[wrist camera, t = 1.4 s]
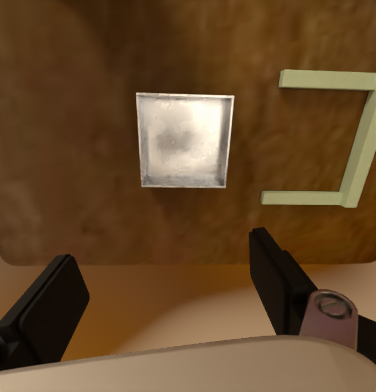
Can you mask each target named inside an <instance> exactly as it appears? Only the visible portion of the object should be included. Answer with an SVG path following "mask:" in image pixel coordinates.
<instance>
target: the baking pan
mask: <svg viewBox="0 0 376 392" xmlns="http://www.w3.org/2000/svg"><path fill="white" fill-rule="evenodd" d="M136 102H137V120H138V137H139V155H140V173H141V187H175V188H226V179H227V169H228V158H229V147H230V137H231V126H232V115H233V105H234V96H228V95H197V94H166V93H136Z"/></svg>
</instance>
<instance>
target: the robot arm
mask: <svg viewBox="0 0 376 392" xmlns="http://www.w3.org/2000/svg"><path fill="white" fill-rule="evenodd" d="M249 248H250V274H251V278H252V281H253V283H254V285H255V288H256V290H257V292H258V294H259V296H260V299H261V301H262V303H263V305H264V307H265V310H266V312H267V315H268V317H269V319H270V321H271V324H272V326H273V328H274V330H275V333H276V335H275V336H260V337H250V338H241V339H232V340H223V341H216V342H207V343H199V344H192V345H183V346H175V347H168V348H160V349H153V350H145V351H137V352H130V353H122V354H115V355H107V356H100V357H92V358H85V359H78V360H71V361H63V362H60V360H61V358H62V356H63V354H64V352H65V350H66V348H67V346H68V344H69V342H70V340H71V338H72V335H73V333H74V331H75V329H76V327H77V325H78V323H79V321H80V319H81V317H82V315H83V312H84V311H85V309H86V306H87V304H88V302H89V298H90V297H89V292H88V290H87V288H86V285H85V282H84V280H83V277H82V275H81V272H80V270H79V268H78V265H77V263H76V260H75V258H74V257H73V256H71V255H70V254H66V255H58V256H56V257H55V258H54V259H53V260H52V262H51V263H50V264H49V265H48V266H47V267H46V269H45V270H44V271H43V272H42V273H41V274H40V275H39V277H38V278H37V279H36V280H35V281H34V282H33V284H32V285H31V286H30V287H29V288H28V289H27V291H26V292H25V293H24V294H23V295H22V296H21V298H20V299H19V300H18V301H17V302H16V303H15V304H14V305H13V307H12V308H11V309H10V310H9V311H8V312H7V314H6V315H5V316H4V317H3V318H2V319H1V320H0V392H376V322H375V321H372V320H370V319H368V318H365V317H363V316H361V315H358V311H357V308H356V307H355V305H354V304H353V302H352V301H350V300H349V299H348V298H347V297H345V296H344V295H342V294H340V293H338V292H335V291H332V290H327V289H320V290H318V288H317V287H316V286H315V285H314V284H313V282H312V281H311V280H310V278H309V277H308V276H307V275H306V273H305V272H304V271H303V270H302V268H301V267H300V266H299V265H298V263H297V262H296V261H295V260H294V258H293V257H292V256H291V255H290V253H289V252H288V251H286V250H283V251H282V250H281V249H280V247H279V246H278V245H277V243H276V242H275V241H274V239H273V238H272V237H271V235H270V234H269V233H268V232H267V230H266V229H265V228H264V227H262V228H254V229H253V230H252V232H249Z"/></svg>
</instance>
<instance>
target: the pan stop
mask: <svg viewBox="0 0 376 392" xmlns="http://www.w3.org/2000/svg"><path fill="white" fill-rule="evenodd" d="M279 88H304V89H333V90H362V91H369V93H368V96H367V100H366V103H365V106H364V110H363V113H362V117H361V120H360V123H359V127H358V130H357V133H356V137H355V140H354V143H353V147H352V150H351V154H350V157H349V160H348V164H347V167H346V170H345V174H344V177H343V180H342V184H341V187H340V190H339V192H321V191H262V194H261V200H260V202H261V203H262V204H296V205H341V206H343V207H357V204H358V201H359V198H360V195H361V192H362V189H363V186H364V183H365V180H366V177H367V174H368V171H369V168H370V165H371V162H372V159H373V156H374V153H375V150H376V73H362V72H336V71H310V70H282V71H281V74H280V81H279Z"/></svg>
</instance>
